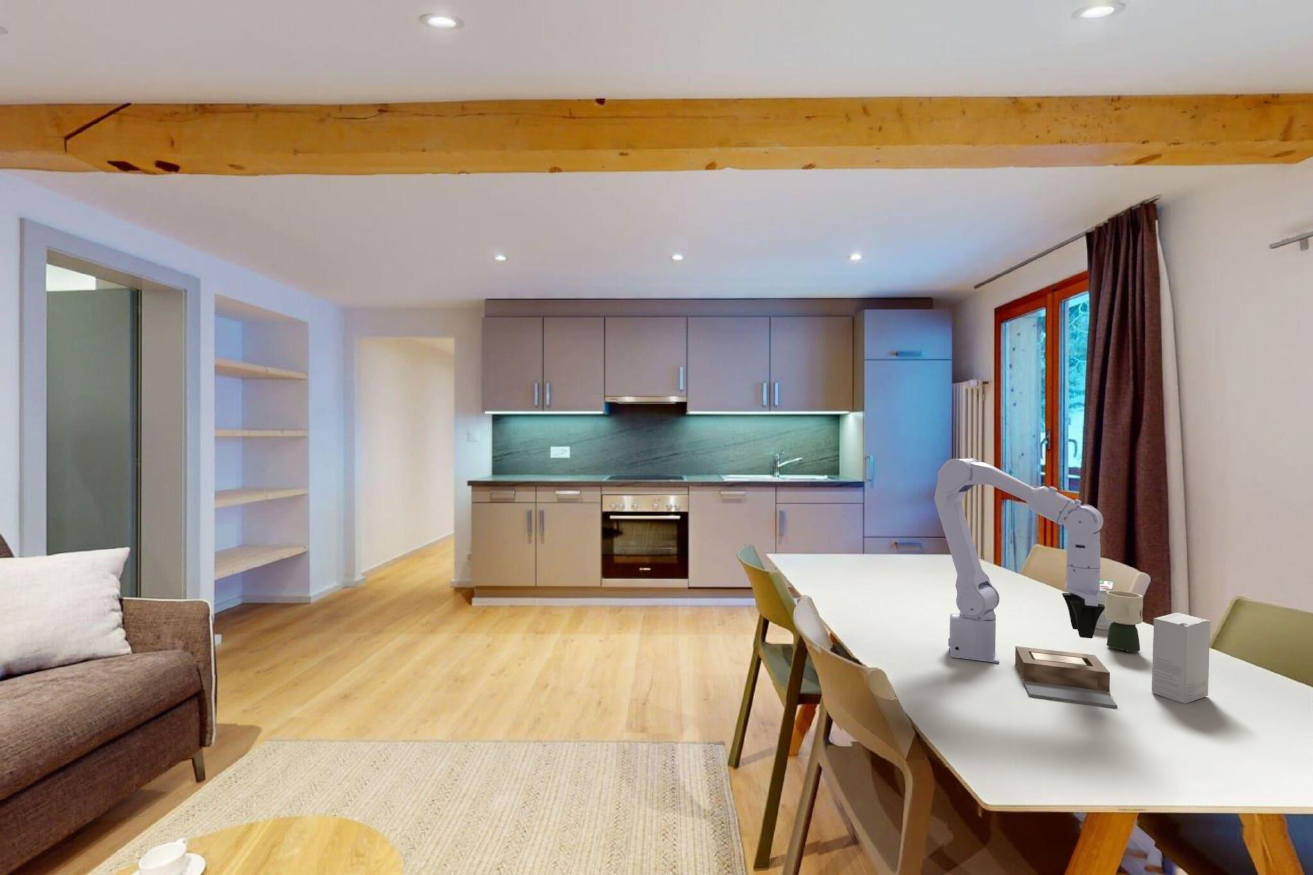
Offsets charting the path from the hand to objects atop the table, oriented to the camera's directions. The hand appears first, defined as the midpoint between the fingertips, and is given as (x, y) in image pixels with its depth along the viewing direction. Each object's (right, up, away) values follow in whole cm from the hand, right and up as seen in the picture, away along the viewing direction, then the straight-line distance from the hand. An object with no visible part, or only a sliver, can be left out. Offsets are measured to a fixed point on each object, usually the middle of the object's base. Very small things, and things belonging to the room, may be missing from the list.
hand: (1082, 633), depth 133 cm
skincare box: (+14, -10, -8) cm, 19 cm away
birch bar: (-4, -8, +1) cm, 9 cm away
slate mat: (-8, -9, -8) cm, 15 cm away
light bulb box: (+30, -10, +41) cm, 52 cm away
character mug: (+22, -10, +19) cm, 31 cm away
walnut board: (-4, -9, +1) cm, 10 cm away
